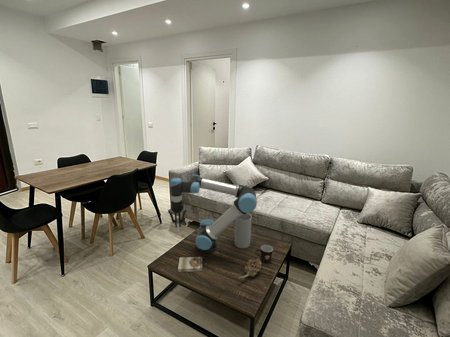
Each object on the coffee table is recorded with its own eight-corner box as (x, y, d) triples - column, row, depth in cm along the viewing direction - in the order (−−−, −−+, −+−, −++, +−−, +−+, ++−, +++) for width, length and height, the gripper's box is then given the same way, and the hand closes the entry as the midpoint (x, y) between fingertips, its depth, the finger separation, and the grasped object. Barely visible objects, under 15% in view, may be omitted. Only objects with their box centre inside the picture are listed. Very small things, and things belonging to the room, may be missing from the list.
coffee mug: (273, 258, 178) (274, 246, 175) (270, 265, 170) (271, 253, 167) (258, 254, 182) (258, 242, 180) (254, 260, 175) (255, 248, 172)
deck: (202, 259, 174) (202, 256, 174) (202, 271, 163) (202, 268, 162) (179, 260, 173) (179, 257, 172) (178, 272, 162) (178, 268, 161)
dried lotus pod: (251, 264, 171) (252, 252, 168) (263, 270, 165) (264, 258, 163) (234, 282, 153) (234, 269, 151) (247, 289, 148) (248, 276, 145)
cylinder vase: (252, 243, 196) (254, 215, 189) (245, 250, 186) (247, 221, 179) (239, 238, 203) (240, 211, 196) (231, 245, 192) (232, 217, 185)
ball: (198, 260, 169) (193, 259, 169) (198, 263, 166) (193, 262, 165) (196, 264, 170) (192, 263, 169) (196, 267, 167) (191, 266, 166)
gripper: (186, 197, 170) (187, 227, 176) (167, 198, 168) (169, 228, 174) (186, 202, 163) (187, 232, 169) (166, 203, 161) (168, 234, 167)
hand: (178, 230), depth 172 cm, fingers closed
